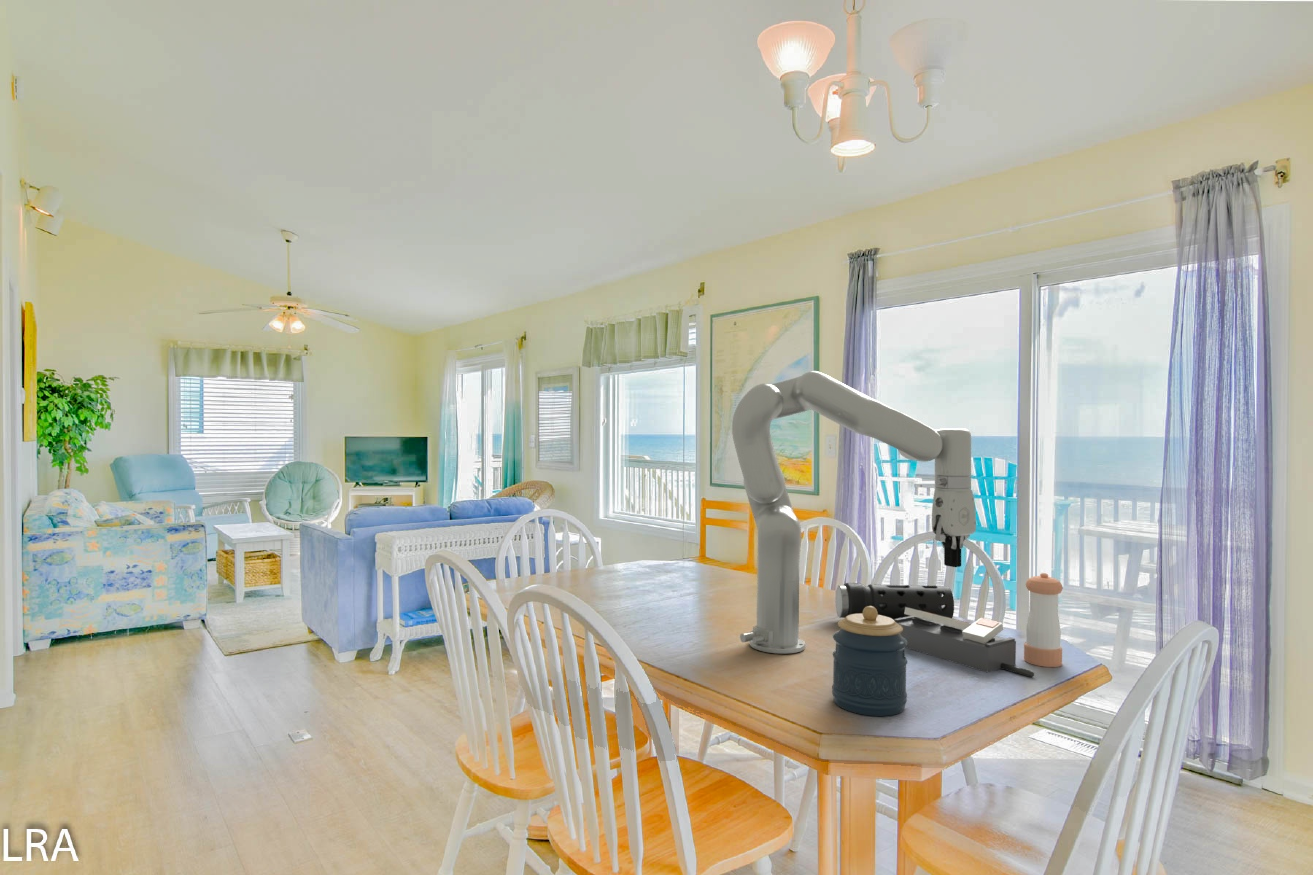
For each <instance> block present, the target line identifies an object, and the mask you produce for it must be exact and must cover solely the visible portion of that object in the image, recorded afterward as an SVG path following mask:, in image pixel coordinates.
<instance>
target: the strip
mask: <svg viewBox="0 0 1313 875" xmlns="http://www.w3.org/2000/svg"><path fill="white" fill-rule="evenodd" d="M894 621H895V622H896V623H898V624H899V625H901V626H902V628H903V631H902V632H901V633H900V634H901V636H903V637H904V638H905V639H906V640H907V642H908V644H907V646H906V647H905V648H906V649H909V650H913V651H916V652H920V653H923V654H925V655H929V656H933V657H936V658H939V659H942V660H945V661H950V662H952V663H955V664H959V665H962V666H965V667H969V668H972V669H975V670H978V671H982V672H984V673H985V672H986V673H991V672H994V671H998V670H1001V669H1002V670H1005V671H1008V672H1011V673H1016V674H1020V675H1023V676H1026V677H1030V678H1033V677H1034V676H1035V672H1034V671H1033V670H1029V669H1025V668H1023V667H1019V666H1015V665H1016V661H1017V660H1016V658H1017V657H1016V655H1017V644H1016V643H1017V641H1016V638H1013V637H1008V638H1006V637H1001V636H997V635H996V636H994V637H993V638H992V639H991V640H989V641H988V642H987V643H985V644H983V643H980V642H976V641H972V640H969V639H965V638H963V634H962V631H963V629H959V628H955V627H951V626H948V625H944V624H940V623H936V622H932V621H928V620H924V619H921V618H917V617H914V616H908V617H903V618H898V619H894Z"/></svg>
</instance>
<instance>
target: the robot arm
mask: <svg viewBox="0 0 1313 875" xmlns="http://www.w3.org/2000/svg"><path fill="white" fill-rule="evenodd" d="M810 410H811V411H813V412H815V413H817V414H819V415H821V416H823V417H825V418H826V419H828V420H830V421H832V422H834V423H836V424H838V425H840V426H842V427H844V428H845V429H847V430H849V431H851V432H854V433H855V434H858V435H861V436H865V437H869V438H872V439H875V440H877V441H879V442H882V443H884V444H886V445H888V446H890V447H893V448H895V449H896V450H897V451H898V453H899V454H900V455H901V456H902V457H903V458H905V459H907V460H909V461H915V462H921V463H924V462H925V463H926V462H930V461H933V460H934V492H933V499H932V506H931V508H932V509H931V530H932V532H933V534H935V537H934V539H935V541H937V542H941V544H942V548H943V552H944V553H943V554H944V555H943V560H944V561H943V564H944V566H947V567H952V568H960V567H962V549H963V547H964V542H965V540H967V539H969V538H970V537H971V535H973V534H974V533H975V532H976V530H977V516H976V513H977V512H976V504H975V502H976V501H975V496H974V492H973V489H972V434H971V432H970V430H969V429H967V428H959V427H958V428H957V427H955V428H954V427H953V428H952V427H951V428H950V427H949V428H946V427H945V428H940V429H934V428H932V427H931V426H928V425H927V424H925V423H923V422H922V421H919V420H917V419H915V418H913V417H911V416H909V415H908V414H906V413H903V412H901V411H899V410H898V409H894V408H892V407H890V406H888V405H886V404H884V403H882V402H881V401H878V400H877V399H874V398H872V397H870V396H868V395H866V394H865V393H862V392H860V391H858V390H857V389H855V388H853V387H850V386H849V385H847V384H845V383H843V382H841V381H839V380H837V379H835V378H833V377H831V376H830V375H827V374H825V373H823V372H820V371H817V370H811V371H807V372H804V373H803V374H802V375H799V376H797V377H794V378H790V379H787V380H782V381H780V382H779V381H778V382H775V383H771V384H770V383H759V384H757V385H755V386H753V387H752V388H750V390H748V391H747V393H745V395H744V396H743V397H742V398H741V399H740V400H739V402H738V404H737V405H736V408H735V410H734V412H733V416H732V420H731V434H732V440H733V444H734V449H735V452H736V455H737V458H738V464H739V467H740V470H741V474H742V476H743V487H744V489H745V493H746V497H747V500H748V502H749V506H750V509H751V512H752V516H753V519H754V522H755V524H756V529H757V555H756V556H757V560H756V561H757V563H756V564H757V568H756V569H757V570H756V572H757V573H756V577H757V578H756V580H757V581H756V584H757V586H756V625H754V626H752V630H751V631H750V632H744V633H740V636H739V639H740V641H741V642H742V643H747V642H749V646H750V647H751V648H752V649H754V650H757V651H760V652H763V653H770V654H781V655H783V654H785V655H786V654H787V655H788V654H797V653H799V652H803V651H804V650H805V649H806V642H805V640H803V639H802V638H800V637H799V629H800V628H799V627H800V625H799V624H800V623H799V622H800V620H799V619H800V616H799V615H800V569H801V568H800V561H801V560H800V559H801V548H802V547H801V546H802V544H801V543H802V529H801V524H800V521H799V518H798V517H797V516H796V514H795V512H794V510H793V506H792V503H791V500H790V496H789V493H788V489H787V487H786V477H785V474H784V472H783V471H782V469H781V466H780V463H779V461H778V457H777V454H776V451H775V448H774V445H773V444H774V443H773V439H772V436H771V424H772V421H773V420H777V419H781V418H784V417H788V416H794V415H797V414H800V413H805V412H807V411H810Z"/></svg>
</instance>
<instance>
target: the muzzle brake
mask: <svg viewBox="0 0 1313 875" xmlns="http://www.w3.org/2000/svg"><path fill="white" fill-rule="evenodd" d="M834 598H835V600H834V601H835V609H836V610H835V611H836V614H837V617H839V618H842V619H844V618H846V616H848V615H851V614H861V613H863V610H864V608H865V607H867V606H873V607H875V608H876V610H877V612H878V615H882V616H886V617H889V618H892V619H893V620H894V619H898V618H903V617H908V616H910V615H906V614H904V612H905V607H907V608H911V609H915V610H920V611H924V612H928V613H932V614H936V615H940V616H944V617H948V618H953V617H954V614H955V599H954V594H953V592H952V590H951V588H950V587H949V586H948V585H919V584H899V585H898V584H880V583H879V584H876V583H875V584H872V583H871V584H868V585H866V586H865V584H863V583H861V582H846V583H844V584H839V585H837V586H836V588H835V597H834Z"/></svg>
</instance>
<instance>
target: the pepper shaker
mask: <svg viewBox="0 0 1313 875" xmlns="http://www.w3.org/2000/svg"><path fill="white" fill-rule="evenodd" d="M1025 587H1026V589H1027V591H1029V606H1028V607H1029V610H1028V615H1027V621H1026V624H1025V642H1024V644H1023V660H1024V661H1025V662H1026V663H1029V664H1030V665H1035V666H1038V667H1039V666H1040V667H1045V668H1058V667H1062V665H1063V647H1061V641H1062V640H1061V638H1062V636H1061V635H1062V630H1061V623H1060V616H1059V594H1061V593H1062V591H1063V589H1064V588H1063V584H1062V583H1061V581H1060V580H1058V579H1057V578H1055V577H1050V576H1049V575H1048V573H1045V572H1041V573H1040V574H1039V575H1035V576H1031V577H1029V578H1028V579H1027V580H1026V582H1025Z"/></svg>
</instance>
